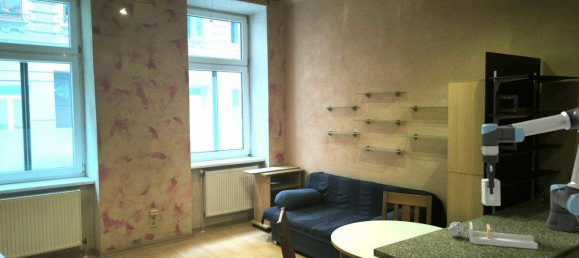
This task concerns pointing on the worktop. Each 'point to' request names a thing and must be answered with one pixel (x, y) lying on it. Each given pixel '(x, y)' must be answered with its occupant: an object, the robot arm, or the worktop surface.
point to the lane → (502, 239)
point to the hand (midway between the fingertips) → (491, 198)
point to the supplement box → (485, 193)
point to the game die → (456, 229)
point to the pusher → (488, 232)
